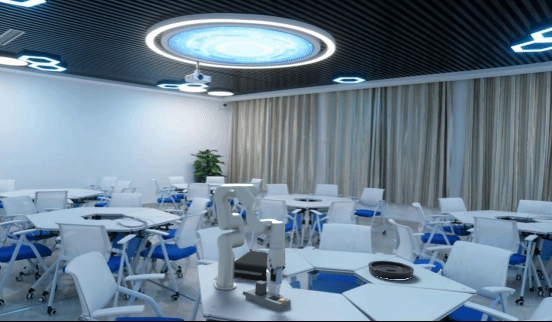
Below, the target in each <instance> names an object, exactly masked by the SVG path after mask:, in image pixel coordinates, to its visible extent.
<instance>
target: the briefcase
mask: <svg viewBox="0 0 552 322" xmlns="http://www.w3.org/2000/svg"><path fill="white" fill-rule="evenodd" d="M267 256H268V252H262V251H255V250H249V251H247V252H246V253H244V254H243V255H242V256H240V257H239V258H238V259H235V265H234V278H237V279H244V280H245V279H246V280H250V279H251V281H252V280H253V281H264V282H267V275H266V270H267ZM285 269H286V265H285V266H284V268H283V271H284V270H285Z"/></svg>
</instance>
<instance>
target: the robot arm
mask: <svg viewBox="0 0 552 322" xmlns="http://www.w3.org/2000/svg"><path fill="white" fill-rule="evenodd" d="M258 193H259V190H258V188H257V186H256V185H254V184H253V183H248V184H246V183H225V184H221V185H219V186H217V187H216V189H215V190H214V194H213V199H214V202H215V203H214V204H215V206H216V215H217V225H218V228H219V229H220V231H229V232H224V233H221V234H220V235H218V237H217V239H216V241H217V243H216V244H217V250H218V259H217V260H218V262H217V263H218V265H217V275H216V277H214V281H216V282H215V283H214V288H215V289H217V290H222V291H230V290H233V289H236V287H237V283H236V282H235V277H234V265H235V261H236V256H235V253H234V251H233V249H236V248H240V247H242V246H243V245H244V244H245V242H246V234H245V233H246V232H245V225H244V224H245V223H244V219H243V217H242V215H241V214H240V213H238V212H233V213H232V207H231V203H230V202H229V201H228V200H229V199H236V200H238V201H239V203H240V205H241V206H242V208H244V210H245V218H246V222H247V223H246V224H248V226H249V228H250V229H251V230H252V232H253V233H254V234H256V235H259V236H261V235H265V234H270V236H269V237H270V238H269V241H270V242H269V248H268V252H267V253H268V256H267V270H269V272H270V273H271V276H270V280H271V281H273V282H275V281H276V274H275V271H276V268H278V267H280V268H282V271H283V272H284V270H283V268H284V266H285V267H286V265H287V263H286V248H285V240H286V239H285V237H286V223H285V222H284V221H282V220H281V221H280V220H276V219H273V218H266V219H265V218H264V219H260V218H259V217H258V216H257V215H256V212H255V211H256V210H258V208H259V206H260V202H259V200H258V199H257V196H258ZM272 269H274V270H272Z"/></svg>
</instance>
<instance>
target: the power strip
mask: <svg viewBox="0 0 552 322" xmlns="http://www.w3.org/2000/svg"><path fill="white" fill-rule="evenodd" d="M242 294H243V295H245V299H246V300H248V301H252V302H254V303H257V304H260V305H262V306H265V307H267V308H270V309H272V310H275V311H278V312H281V311H283V310H286V309H288V308H290V307H291V299H289V298H287V297H283V296H281V295H276V294H273V293H270V292H268V287H267V281H258V280H256V281H255V288H253V289H250V290H248V291H242Z"/></svg>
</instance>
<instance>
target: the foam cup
mask: <svg viewBox="0 0 552 322" xmlns="http://www.w3.org/2000/svg"><path fill="white" fill-rule="evenodd" d="M283 273H284V270H283V271H282V277H283V275H284V274H283ZM266 275H267V280H266V282H267V292H270V293H273V294H276V295H278V296H280V292H281V286H282V283H281V284H278V285H275V284H272V283H270V272H269V270H266Z"/></svg>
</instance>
